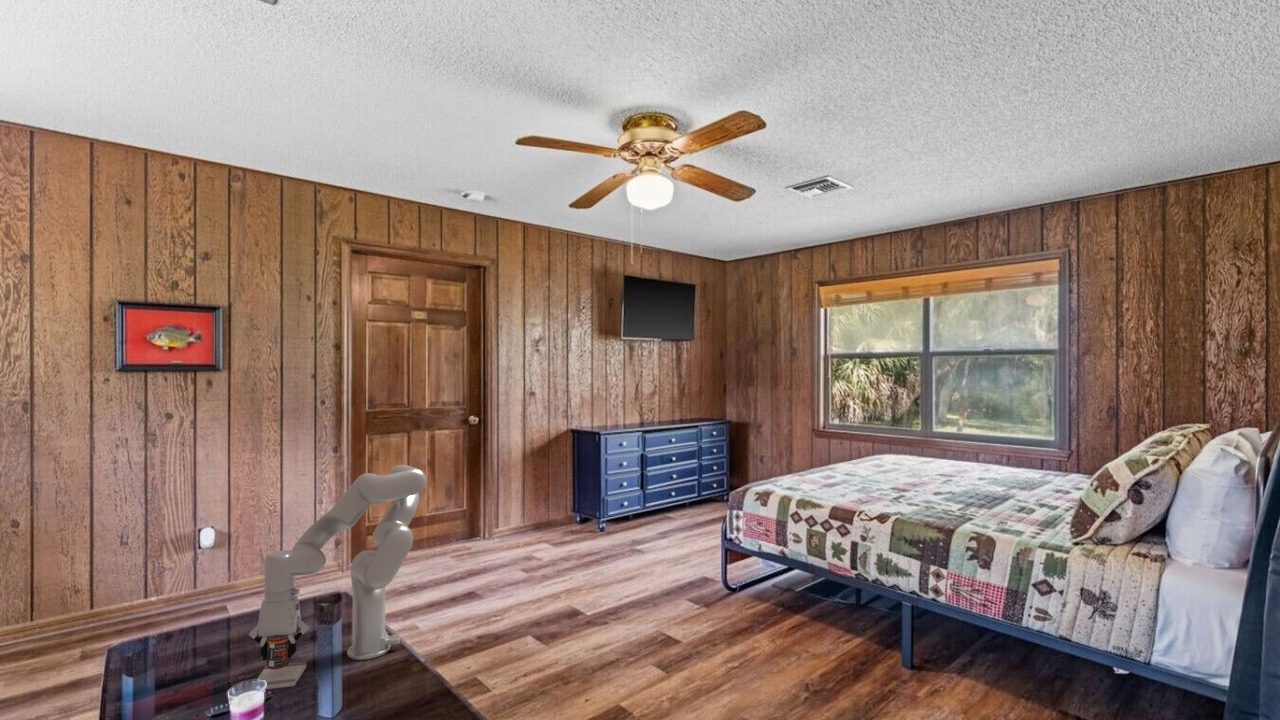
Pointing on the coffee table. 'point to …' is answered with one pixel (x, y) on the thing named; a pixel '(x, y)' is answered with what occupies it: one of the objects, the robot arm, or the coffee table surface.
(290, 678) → the mat
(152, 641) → the coffee table surface
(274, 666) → the supplement bottle
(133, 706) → the coffee table surface
